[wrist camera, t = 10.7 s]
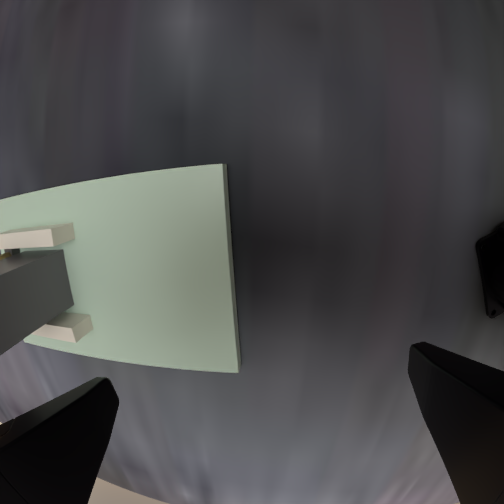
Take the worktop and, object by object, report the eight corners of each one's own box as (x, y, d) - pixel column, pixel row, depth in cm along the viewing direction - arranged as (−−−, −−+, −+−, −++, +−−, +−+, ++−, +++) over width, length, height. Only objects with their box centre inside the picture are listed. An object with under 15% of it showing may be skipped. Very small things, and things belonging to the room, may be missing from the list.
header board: (226, 164, 19) (202, 160, 14) (241, 363, 22) (227, 409, 17) (2, 199, 22) (-38, 207, 17) (31, 337, 25) (-1, 359, 20)
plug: (63, 249, 21) (-51, 298, 10) (74, 304, 22) (-24, 372, 11) (24, 250, 21) (-76, 292, 11) (35, 300, 22) (-55, 355, 12)
